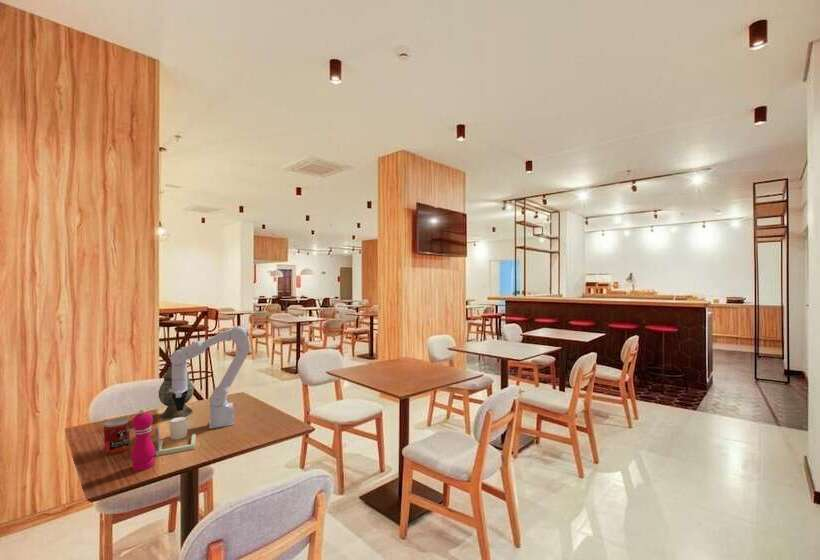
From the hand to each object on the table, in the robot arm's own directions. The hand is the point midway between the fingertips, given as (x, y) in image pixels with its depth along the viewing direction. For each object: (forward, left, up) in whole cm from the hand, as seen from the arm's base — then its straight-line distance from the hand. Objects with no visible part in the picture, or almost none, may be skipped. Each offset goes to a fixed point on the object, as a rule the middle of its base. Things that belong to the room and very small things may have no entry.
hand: (180, 409), depth 168 cm
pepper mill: (+9, +32, -9) cm, 34 cm away
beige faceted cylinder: (0, +9, -9) cm, 12 cm away
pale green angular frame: (+1, +19, -8) cm, 21 cm away
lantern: (+3, -22, -9) cm, 24 cm away
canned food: (+20, +12, -9) cm, 25 cm away
